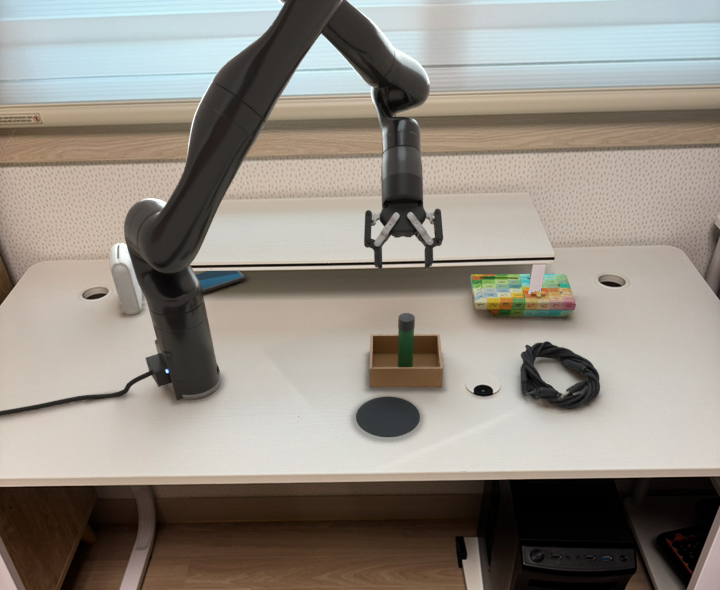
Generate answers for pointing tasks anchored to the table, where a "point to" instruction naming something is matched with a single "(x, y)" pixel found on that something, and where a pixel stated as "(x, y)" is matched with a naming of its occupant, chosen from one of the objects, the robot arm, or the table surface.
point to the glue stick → (405, 339)
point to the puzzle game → (522, 295)
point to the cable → (569, 360)
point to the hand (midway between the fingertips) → (403, 269)
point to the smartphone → (218, 279)
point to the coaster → (388, 417)
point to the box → (390, 375)
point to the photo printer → (125, 279)
